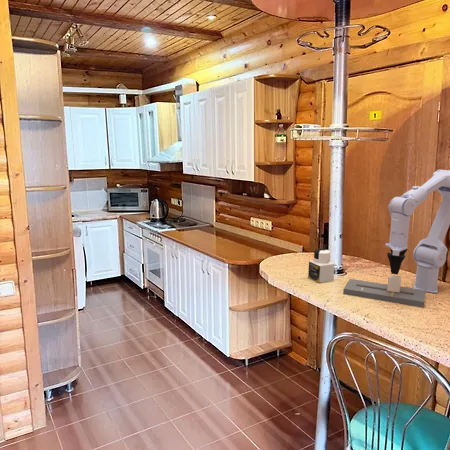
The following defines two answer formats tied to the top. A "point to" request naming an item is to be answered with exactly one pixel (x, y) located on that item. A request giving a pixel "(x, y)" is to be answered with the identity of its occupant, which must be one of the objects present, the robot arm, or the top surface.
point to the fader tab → (394, 283)
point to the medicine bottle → (321, 266)
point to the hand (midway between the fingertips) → (395, 270)
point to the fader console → (385, 293)
